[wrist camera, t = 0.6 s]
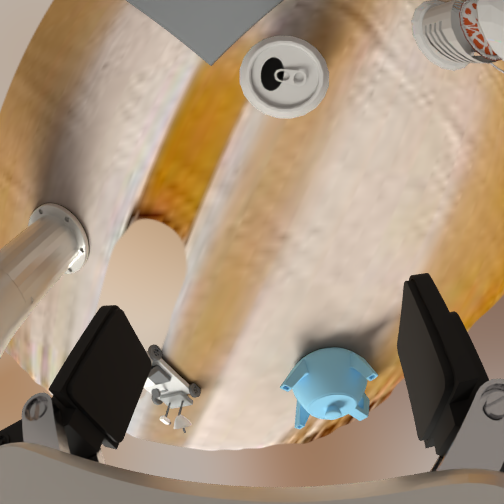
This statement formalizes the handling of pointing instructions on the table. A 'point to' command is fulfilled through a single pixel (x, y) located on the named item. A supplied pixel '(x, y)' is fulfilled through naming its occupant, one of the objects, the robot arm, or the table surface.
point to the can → (284, 76)
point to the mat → (206, 21)
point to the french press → (460, 32)
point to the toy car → (169, 388)
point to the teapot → (330, 385)
